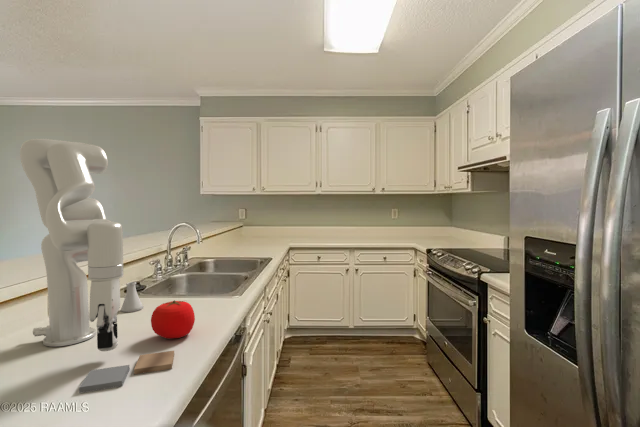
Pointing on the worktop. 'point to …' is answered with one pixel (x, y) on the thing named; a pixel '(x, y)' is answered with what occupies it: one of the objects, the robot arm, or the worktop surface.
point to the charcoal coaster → (104, 378)
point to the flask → (131, 299)
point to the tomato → (173, 319)
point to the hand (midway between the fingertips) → (107, 342)
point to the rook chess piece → (113, 337)
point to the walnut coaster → (154, 362)
